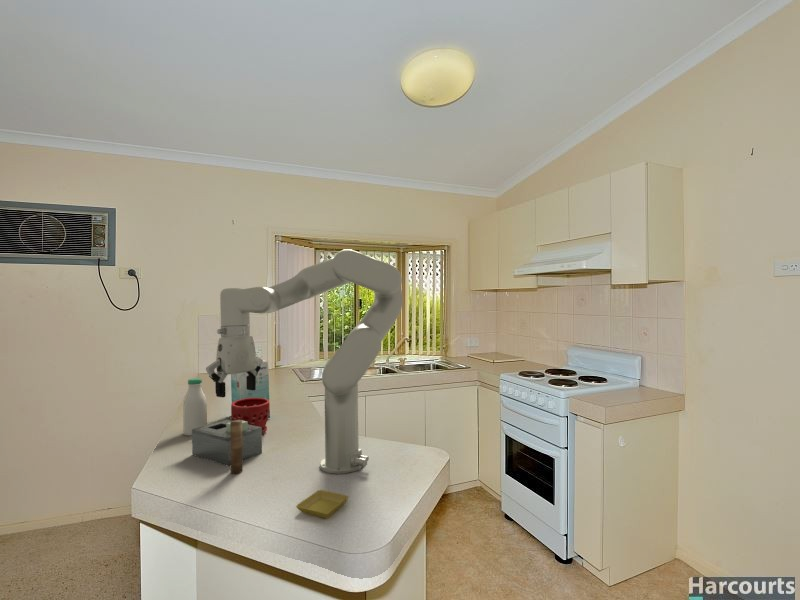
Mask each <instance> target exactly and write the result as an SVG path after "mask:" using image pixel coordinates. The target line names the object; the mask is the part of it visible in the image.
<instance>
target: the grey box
mask: <svg viewBox="0 0 800 600" xmlns="http://www.w3.org/2000/svg"><path fill="white" fill-rule="evenodd" d="M231 421H232V420H231V419H230V420H229V419H224V420H221V421H217V422H214V423H210V424H207V425H206V426H202V427H199V428H195V429H192V436H191V437H192V439H191V440H192V443H191V446H192V447H191V450H192V451H191V453H192V454H193V455H192V454H191V455H192V456H194V455H196V456H195V457H197V456H199V457H198V458H201V457H202V458H201V459H204V458H205V460H207V459H208V460H207V461H210V460H211V461H210V462H213V461H214V463H217V464H221V465H223V466H226V465H227V466H226V467H228V466H231V437H230V433H228V432H226V423H229V422H231ZM262 453H263V434H262V427H258V426H253V425H249V424H248V430H246V431H243V432H242V461H244V460H247V459H249V458H252V457H255V456H257V455H260V454H262Z"/></svg>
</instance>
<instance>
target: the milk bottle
mask: <svg viewBox="0 0 800 600" xmlns="http://www.w3.org/2000/svg"><path fill="white" fill-rule="evenodd" d="M202 382H203V379H202V378H200V377H196V378H189V379H188V380H187V386H188V390H187V392H186V395H185V397H184V400H183V406H182V407H183V414H182V415H183V420H182V421H183V422H182V424H183V426H182V428H183V435H184V436H186V435H188V436H190V437H192V429H195V428H199V427H202V426H206V425H208V419H207V418H208V412H207V411H208V409H207V408H208V406H207V397H206V395H205V393H204V391H203V389H202V385H203V383H202Z"/></svg>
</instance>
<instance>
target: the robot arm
mask: <svg viewBox="0 0 800 600" xmlns="http://www.w3.org/2000/svg"><path fill="white" fill-rule="evenodd" d="M402 281H403V277H402V274H401V272H400V270H398V268H397V267H396V266H394V265H392V264H390V263H388V262H385V261H382V260H380V259H376V258H374V257H372V256H369V255H367V254H364V253H362V252H359V251H356V250H353V249H350V248H349V249H348V248H347V249H342V250H340V251H339V252H337V253H336V254H335V255H334V256H333V257H331V258H329V259H326V260H323V261H321V262H318V263H315V264H313V265H310V266H307V267H304V268H303V269H301V270H300V271H299V272H298V273H297V274H295V275H294V276H292V277H291V278H289V279H287V280H285V281H283V282H280V283H277V284H274V285H272V286H269V287H267V286H254V287H246V288H242V287H241V288H240V287H233V288H232V287H230V288H223V289H221V291H220V295H219V296H220V303H219V304H220V307H219V309H220V328H219V329H217V330H216V333H217V334H218V335H220V337H219V338H218V341H217V348H216V356H215V357H216V358H215V360H214V361H213V362H212V363H211V364H209V365H207V367H205V371H206V373H207V375H208V377H209V378H210V379H211V380H212V381H213V382H214V383H215V385H214V386H215V396H216V397H217V398H225V397H226V396H227V395H226V393H227V392H226V382H225V379H226V378H227V376H228V375H231V374H237V373H243V372H246V373H247V374H248V375H249V376H247V377H246V379H247V390H256V376H257V375H258V372H259V370H260V368H261V367H260V366H261V365H262V362H263V360H264V359H262V358H259V357H258V356H257V354H256V348H255V342H254V338H253V336H252V335H251V331H250V330H251V329H250V327H251V326H250V322H251V321H250V320H251V319H250V317H251V316H250V314H252V313H253V314H262V315H263V314H271V313H274V312H277V311H279V310H283V309H286V308H287V307H290V306H293V305H296V304H298V303H300V302H303V301H305V300H308V299H312V298H314V297H316V296H319V295H321V294H324V293H327V292H329V291H331V290H334V289H337V288H338V287H342V286H344V285H347V284H349V283H351V284H354V285H357V286H359V287H362V288H364V289H367V290H370V291H373V293H374V299H373V303H372V304H371V306H370V307H369V308H368V310H367V311H366V312H365V314H364V315H363V317H362V318H361V319H360V321H359V322H358V323H357V325H355V326H354V327H353V329H351V331H349V334H348V335H347V337H346V338H345V339H344V341H343V342H342V344H341V345H340V346H339V348H338V349H337V350H336V352H335V353H334V354H333V356H332V357H330V358H329V359H328V360H327V362H326V364H325V366H323V367H324V368H323V369H322V373H321V380H322V384H323V387H324V439H325V440H324V453H325V454H324V455H325V457H324V458H323V459H321V461H319V468H320V470H321V471H323V472H325V473H328V474H334V475H335V474H337V475H339V474H343V475H344V474H349V473H354V472H356V471H358V470H360V469H362V468H364V467H366V466H367V465H368V461H369V456H367V455H363V453H362V452H363V451H362V448H359V446H360V445H359V388H358V387H359V384H358V383H359V381H361V379H362V378H363V377H364V375H365V374H366V373H367V371H368V369H370V367H371V365H372V364H373V363H374V361H375V360H376V358H377V357H378V355H379V353H380V351H381V349H382V342H383V340H384V338H385V337H386V335H387V334H388V333H389V331H391V330H390V329H392V327H393V325H394V324H395V323H396V321H397V319H398V318H399V315H400V314H401V311H402V308H403V302H404V301H403V291H402V288H401V286H402ZM215 370H216V371H215ZM216 372H217V373H216Z"/></svg>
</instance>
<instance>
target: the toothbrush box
mask: <svg viewBox="0 0 800 600" xmlns="http://www.w3.org/2000/svg"><path fill="white" fill-rule="evenodd" d="M262 360H263V362H262V365H261V366H260V367H261V368H260V370H259V372H258V375H257V376H256V390H247V379H246V377H247V376H249V375H248V374H247V373H246V372H243V373H237V374H230V390H231V391H230V393H231V404H232V403H233V402H235V401H237V400H241V399H246V398H264V399H268V400H269V401H270V381H269V380H270V379H269V378H270V377H269V361H268V360H264V359H262ZM254 406H257V405H254ZM244 407H246V405H245V406H244ZM268 419H271V410H270V407H269V416H268Z"/></svg>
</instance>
